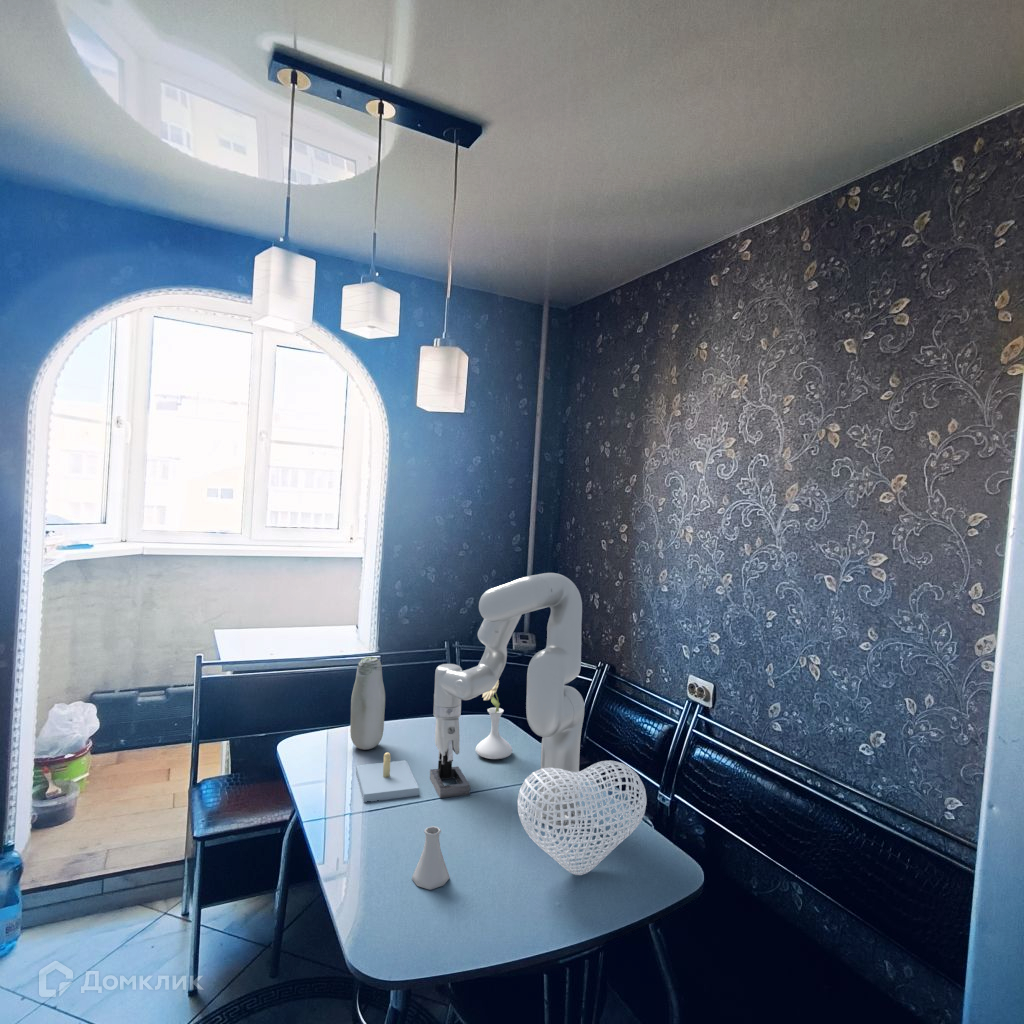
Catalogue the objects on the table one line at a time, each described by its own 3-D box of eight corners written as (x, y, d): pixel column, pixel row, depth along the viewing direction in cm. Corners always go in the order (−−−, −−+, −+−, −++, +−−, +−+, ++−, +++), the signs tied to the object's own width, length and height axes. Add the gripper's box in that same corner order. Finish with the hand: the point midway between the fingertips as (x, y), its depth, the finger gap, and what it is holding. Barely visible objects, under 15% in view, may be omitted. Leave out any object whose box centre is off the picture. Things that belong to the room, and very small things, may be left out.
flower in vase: (476, 746, 194) (480, 667, 194) (513, 749, 193) (516, 669, 193) (472, 764, 181) (476, 679, 181) (511, 766, 180) (514, 681, 180)
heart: (531, 909, 116) (536, 792, 116) (503, 864, 130) (508, 760, 130) (658, 883, 126) (662, 775, 126) (619, 843, 140) (623, 747, 140)
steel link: (469, 794, 161) (470, 785, 161) (440, 798, 159) (440, 788, 159) (457, 775, 173) (458, 766, 173) (429, 778, 170) (430, 769, 170)
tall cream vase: (350, 742, 193) (354, 653, 193) (383, 741, 195) (387, 653, 195) (348, 754, 184) (351, 661, 183) (382, 753, 186) (386, 661, 185)
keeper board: (418, 795, 160) (419, 763, 160) (363, 802, 155) (364, 769, 155) (405, 767, 177) (406, 738, 177) (355, 772, 172) (357, 742, 172)
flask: (431, 864, 129) (433, 817, 129) (456, 878, 125) (458, 829, 125) (405, 879, 124) (407, 830, 124) (429, 895, 119) (431, 843, 119)
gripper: (468, 718, 165) (465, 786, 165) (453, 700, 179) (450, 763, 179) (440, 720, 162) (437, 790, 162) (427, 702, 177) (425, 766, 177)
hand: (444, 775), depth 171 cm, fingers closed on steel link, 1 cm apart
